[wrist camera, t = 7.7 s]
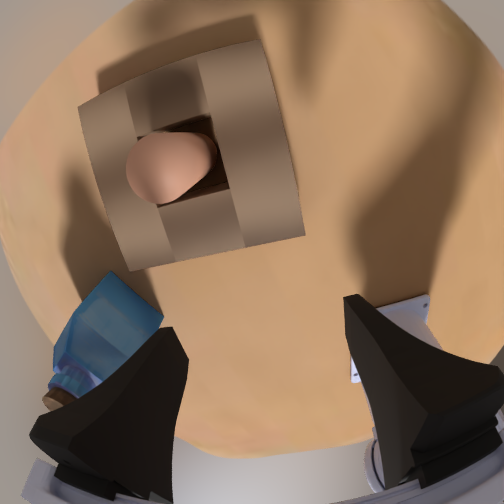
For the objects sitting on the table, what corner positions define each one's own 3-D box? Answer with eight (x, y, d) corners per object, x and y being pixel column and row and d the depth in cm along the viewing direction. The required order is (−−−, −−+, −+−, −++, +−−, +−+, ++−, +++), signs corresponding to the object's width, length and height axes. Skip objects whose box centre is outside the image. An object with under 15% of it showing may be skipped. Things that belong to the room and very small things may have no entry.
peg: (223, 170, 18) (202, 191, 12) (179, 184, 19) (139, 212, 12) (209, 126, 17) (179, 122, 10) (165, 141, 17) (117, 148, 11)
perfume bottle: (110, 270, 22) (30, 367, 11) (164, 316, 23) (115, 430, 12) (85, 307, 23) (21, 394, 13) (131, 346, 25) (86, 443, 14)
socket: (299, 220, 19) (305, 235, 17) (144, 253, 21) (129, 271, 18) (260, 53, 15) (260, 39, 12) (100, 108, 16) (77, 107, 13)
